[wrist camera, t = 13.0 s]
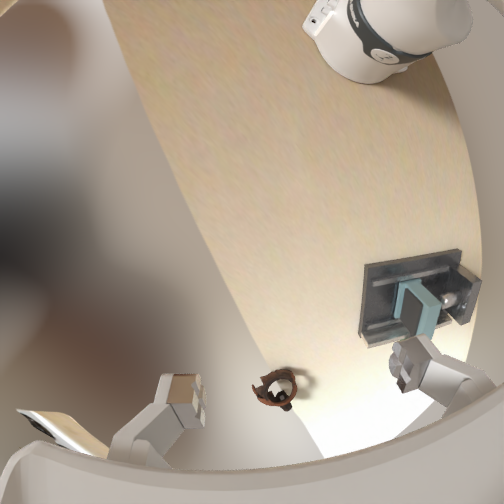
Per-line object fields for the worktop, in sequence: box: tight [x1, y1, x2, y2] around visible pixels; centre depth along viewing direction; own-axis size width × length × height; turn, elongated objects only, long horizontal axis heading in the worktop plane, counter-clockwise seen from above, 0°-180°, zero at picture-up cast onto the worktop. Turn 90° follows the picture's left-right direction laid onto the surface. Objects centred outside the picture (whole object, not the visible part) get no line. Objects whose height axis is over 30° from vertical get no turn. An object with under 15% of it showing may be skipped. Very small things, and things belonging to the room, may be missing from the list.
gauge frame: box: [358, 249, 482, 348], centre depth 46 cm, size 24×16×10 cm, turn 97°
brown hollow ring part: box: [252, 370, 297, 411], centre depth 55 cm, size 12×10×8 cm
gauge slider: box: [394, 278, 442, 340], centre depth 45 cm, size 5×13×9 cm, turn 7°
